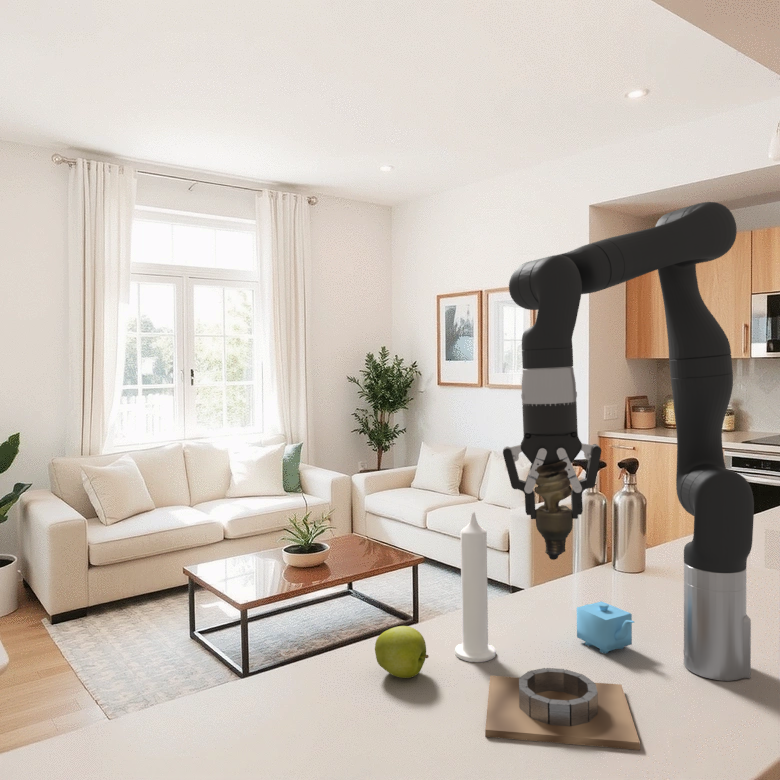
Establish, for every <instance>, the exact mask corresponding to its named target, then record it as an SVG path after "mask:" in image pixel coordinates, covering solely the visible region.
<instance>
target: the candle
mask: <svg viewBox="0 0 780 780" xmlns="http://www.w3.org/2000/svg"><path fill="white" fill-rule="evenodd" d="M487 533H488V532H487V530H486V529H485V528H484V527H482V526H481V525H480V524H479V522H478V520H477V516H476V512H475V511H472V512H471V515H470V519H469V523H468V524H467V525H465V527H463V528H462V529H461V530H460V578H461V579H460V583H461V584H460V586H461V587H460V588H461V589H460V590H461V643H459V644H457V645H456V646H455V648H454V654H455V655H456V657H457V658H458V659H460V660H462V661H466V662H470V663H485V662H488V661H491V660H492V659H494V658H495V657H496V648H495V647H494V645H492V644H489V623H488V622H489V617H488V616H489V615H488V614H489V613H488V612H489V610H488V608H489V607H488V605H489V603H488V597H489V596H488V541H487V539H488V537H487V535H488V534H487Z"/></svg>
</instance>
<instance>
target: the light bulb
mask: <svg viewBox="0 0 780 780" xmlns="http://www.w3.org/2000/svg"><path fill="white" fill-rule="evenodd" d="M566 466H567V463H566V462H565V461H562V462H561V461H560V462H557V463H555V464H550V465H543V466H539V467H537V469H535V471H537V472H538V474H539V476H538V478H537V479H536V480H535V481H536V483H535V485H537V486H534V488H533V491H534V492H535V494H537V495H539V496H540V497H541V498H542V500H543V501H544V502H543V504H541V505H540V506H539V507H538V508H535V512H536V519H535V527H536V529H537V531H538V533H539V534H540V535H541V536H542V538H543V539H544V543H545V554H547V555H548V557H549V559H550V560H553V561H554V560H557V559H558V558H559V556H560V555H562V554H563V553H565V552H566V541H567V540H566V539H567V538H568V537H569V535H570V534H571V532H572V530H573V526H574V525H573V520H574V519H573V515H572V508H570V507H569V506H567V505H565V504H564V505H563V504H562V505H560V502H561V501H563V500H566V499H567V498H568V497H569V496H571V491H572V486H571V483H570V480H569V479H568V477H567V476H568V472H567V471H566V470H565V468H566ZM568 470H570V469H568Z"/></svg>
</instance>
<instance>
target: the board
mask: <svg viewBox="0 0 780 780" xmlns="http://www.w3.org/2000/svg"><path fill="white" fill-rule="evenodd" d="M519 678H520V676H519V677H518V676H517V677H516V676H505V675H490V676H489V685H488V695H487V706H486V707H487V709H486V715H485V716H486V719H485V720H486V721H485V727H484V728H485V730H484V732H485V734H484V735H485V738H495V739H507V740H520V741H530V742H531V741H532V742H543V743H553V744H554V743H555V744H565V745H575V746H577V745H578V746H589V747H600V748H601V747H602V748H612V749H625V750H636V751H640V750H641V741H640V739H639V736H638V732H637V729H636V727H635V723H634V721H633V720H634V719H633V717H632V714H631V710H630V707H629V704H628V701H627V697H626V695H625V692H624V687H623V685H622V684H619V683H617V684H616V683H606V682H594V683H595V684H596V688H597V692H598V713H597V715H596V716H595V717H594V718H593V719H592V720H591V721H590V722H588V723H584V724H580V725H576V726H570V727H569V726H557V725H550V723H549V724H545V723H543V722H540V721H537V720H534V719H532V718H531V717H528V716H527V715H526V714H525V713H524V712H523V711H522V710H521V709H520V707H519ZM536 694H537V695H540V696H542V697H545V698H548V699H553V700H567V701H568V700H573V699H577V698H579V697H577V696H574V695H571V694H568V693H565V692H556V691H545V692H541V693H536Z"/></svg>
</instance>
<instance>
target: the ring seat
mask: <svg viewBox="0 0 780 780" xmlns="http://www.w3.org/2000/svg"><path fill="white" fill-rule="evenodd" d="M595 683H596V682H594V681H593V680H592V679H591V678H589V677H587V676H586V675H584V674H583V673H580V672H576V671H573V670H570V669H565V668H556V667H555V668H554V667H552V668H551V667H542V668H538V669H533V670H529V671H527V672H525V673H523V674H522V675H521V676H519V707H520V709H521V710H522V711H523V712H524V713H525V714H526V715H527V716H528V717H531V718H532V719H534V720H537V721H540V722H543V723H545V724H549V723H550V725H557V726H569V727H570V726H576V725H580V724H584V723H588V722H590V721H591V720H592V719H593V718H594V717H595V716H596V715H597V713H598V692H597V688H596V684H595ZM545 691H556V692H565V693H568V694H571V695H574V696H577V697H579V698H577V699H573V700H568V701H567V700H553V699H548V698H545V697H542V696H540V695H537V694H536V693H541V692H545Z"/></svg>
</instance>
